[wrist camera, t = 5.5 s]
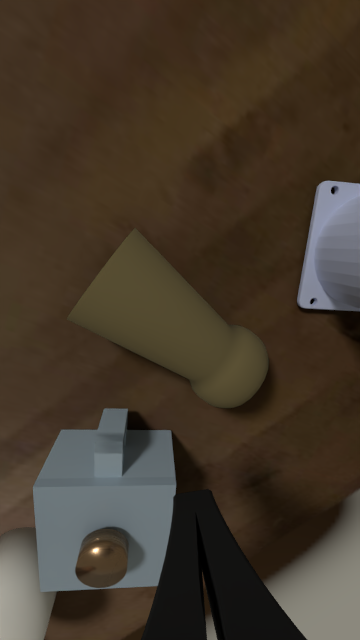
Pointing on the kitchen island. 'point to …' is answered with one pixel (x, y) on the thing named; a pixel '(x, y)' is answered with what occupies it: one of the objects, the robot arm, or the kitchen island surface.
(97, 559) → the plunger
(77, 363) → the kitchen island surface
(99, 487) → the blue box with knob
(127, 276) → the cork
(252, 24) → the kitchen island surface
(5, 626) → the white pillar candle
